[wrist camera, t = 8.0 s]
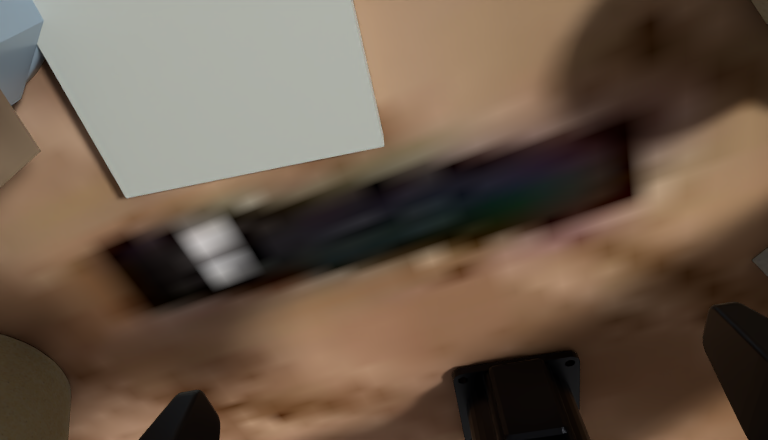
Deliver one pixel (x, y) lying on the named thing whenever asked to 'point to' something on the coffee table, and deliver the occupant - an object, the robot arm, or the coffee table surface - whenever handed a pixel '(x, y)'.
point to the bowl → (18, 46)
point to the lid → (13, 142)
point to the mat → (211, 84)
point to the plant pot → (32, 394)
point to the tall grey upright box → (762, 261)
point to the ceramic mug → (762, 8)
